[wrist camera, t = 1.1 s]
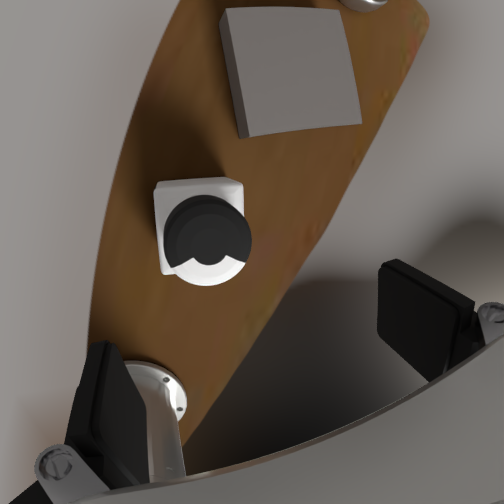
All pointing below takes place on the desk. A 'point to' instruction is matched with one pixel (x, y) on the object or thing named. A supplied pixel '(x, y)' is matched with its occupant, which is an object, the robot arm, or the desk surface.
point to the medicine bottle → (201, 229)
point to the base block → (288, 69)
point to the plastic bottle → (363, 4)
